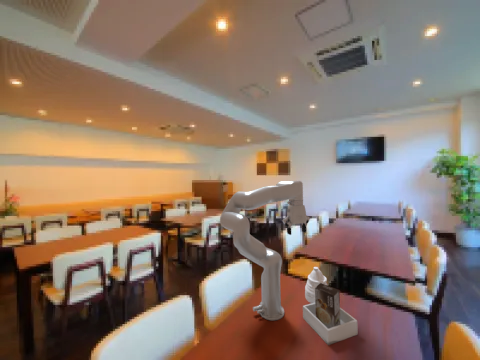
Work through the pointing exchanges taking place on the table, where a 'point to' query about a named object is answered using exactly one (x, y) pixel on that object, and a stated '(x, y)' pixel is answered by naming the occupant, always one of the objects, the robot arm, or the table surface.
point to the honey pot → (313, 284)
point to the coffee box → (327, 305)
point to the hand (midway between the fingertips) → (296, 233)
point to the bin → (334, 333)
